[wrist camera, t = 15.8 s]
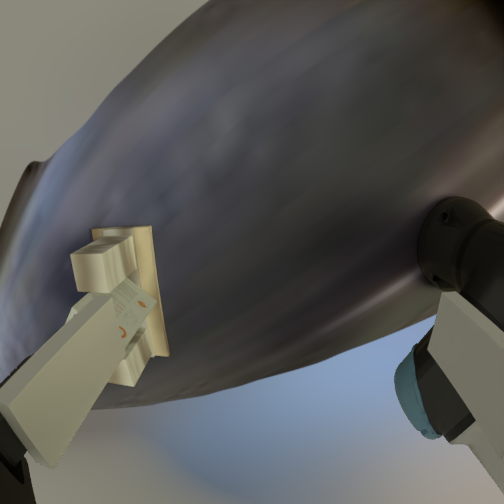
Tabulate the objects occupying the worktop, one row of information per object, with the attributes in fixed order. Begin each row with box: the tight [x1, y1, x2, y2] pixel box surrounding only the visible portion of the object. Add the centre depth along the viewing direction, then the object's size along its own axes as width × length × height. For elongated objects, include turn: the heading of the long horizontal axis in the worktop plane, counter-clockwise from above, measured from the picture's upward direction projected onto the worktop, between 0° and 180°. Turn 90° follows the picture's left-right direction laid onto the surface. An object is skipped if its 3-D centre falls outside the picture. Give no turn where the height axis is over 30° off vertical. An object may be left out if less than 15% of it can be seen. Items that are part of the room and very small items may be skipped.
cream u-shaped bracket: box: [70, 226, 170, 387], centre depth 40 cm, size 10×22×11 cm, turn 1°
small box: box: [65, 278, 157, 348], centre depth 37 cm, size 8×6×13 cm
